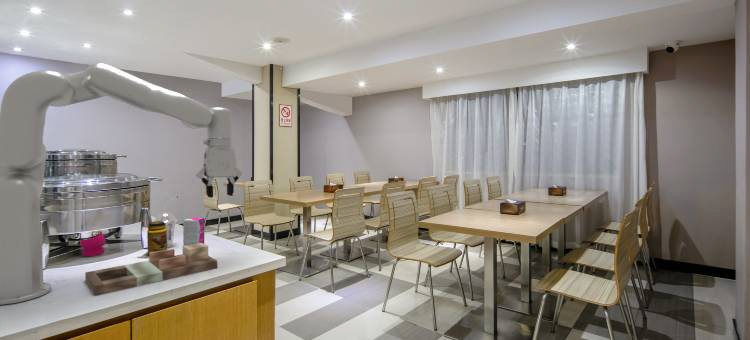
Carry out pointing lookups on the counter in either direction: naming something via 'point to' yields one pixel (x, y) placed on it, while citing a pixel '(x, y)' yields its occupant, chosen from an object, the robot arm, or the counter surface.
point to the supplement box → (193, 231)
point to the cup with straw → (168, 222)
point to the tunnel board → (145, 271)
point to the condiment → (156, 237)
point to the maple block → (195, 252)
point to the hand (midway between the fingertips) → (220, 195)
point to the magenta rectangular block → (93, 245)
